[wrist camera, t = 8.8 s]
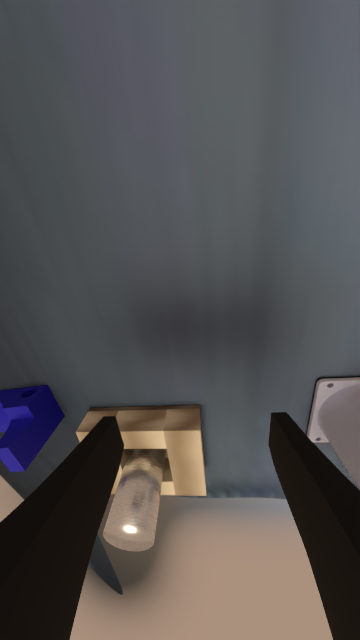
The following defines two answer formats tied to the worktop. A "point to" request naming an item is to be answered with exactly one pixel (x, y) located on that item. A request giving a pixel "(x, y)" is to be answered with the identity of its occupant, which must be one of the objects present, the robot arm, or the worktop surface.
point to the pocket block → (160, 442)
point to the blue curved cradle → (26, 424)
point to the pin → (136, 501)
